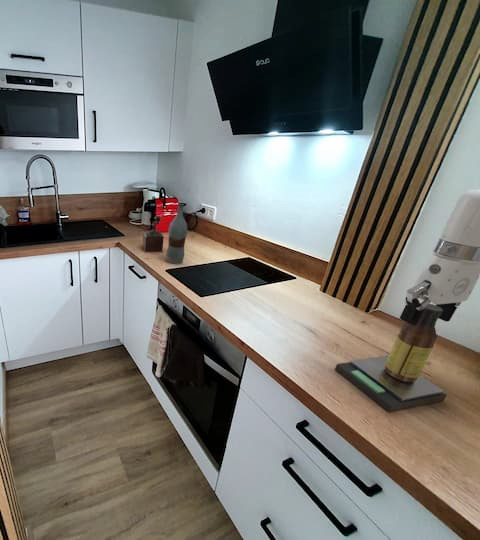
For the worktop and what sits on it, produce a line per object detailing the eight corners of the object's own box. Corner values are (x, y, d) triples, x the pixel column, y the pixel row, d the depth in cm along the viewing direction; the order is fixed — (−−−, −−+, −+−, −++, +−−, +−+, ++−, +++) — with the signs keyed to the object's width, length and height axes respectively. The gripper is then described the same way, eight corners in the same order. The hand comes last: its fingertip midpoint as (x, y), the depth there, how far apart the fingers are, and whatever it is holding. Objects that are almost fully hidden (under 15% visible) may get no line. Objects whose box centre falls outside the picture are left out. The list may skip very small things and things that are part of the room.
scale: (383, 362, 81) (386, 354, 80) (443, 401, 69) (448, 393, 68) (334, 369, 78) (337, 362, 77) (388, 412, 65) (392, 404, 64)
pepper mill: (163, 252, 163) (166, 221, 156) (144, 252, 162) (146, 221, 155) (158, 243, 177) (160, 215, 170) (140, 243, 176) (142, 214, 169)
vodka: (162, 260, 150) (167, 203, 139) (172, 256, 156) (178, 201, 144) (176, 266, 144) (183, 206, 132) (186, 261, 150) (194, 204, 138)
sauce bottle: (418, 377, 72) (457, 309, 64) (411, 387, 69) (451, 317, 61) (385, 362, 77) (418, 297, 69) (377, 371, 74) (411, 304, 66)
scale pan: (386, 357, 80) (387, 355, 80) (443, 393, 68) (445, 390, 68) (349, 363, 77) (350, 360, 77) (401, 401, 66) (402, 399, 65)
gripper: (452, 259, 54) (413, 333, 61) (515, 255, 58) (472, 325, 64) (408, 246, 61) (377, 315, 68) (467, 243, 64) (432, 308, 71)
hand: (423, 320), depth 66 cm, fingers open, 9 cm apart
